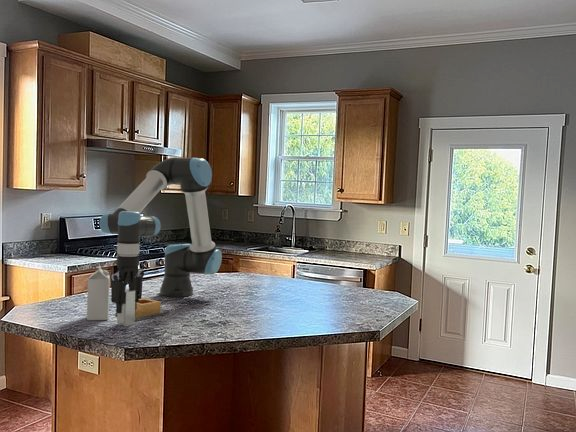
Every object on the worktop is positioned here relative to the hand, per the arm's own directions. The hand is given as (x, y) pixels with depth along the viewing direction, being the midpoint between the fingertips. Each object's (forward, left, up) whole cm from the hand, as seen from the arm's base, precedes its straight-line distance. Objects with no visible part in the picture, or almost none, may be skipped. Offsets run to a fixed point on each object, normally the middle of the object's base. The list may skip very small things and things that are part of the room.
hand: (126, 320), depth 185 cm
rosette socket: (-14, -7, -1) cm, 16 cm away
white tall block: (0, 0, -1) cm, 1 cm away
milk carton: (+1, -14, -2) cm, 14 cm away
